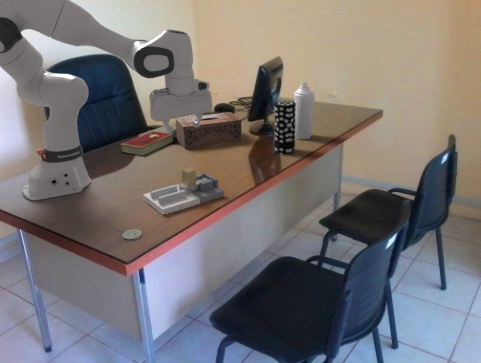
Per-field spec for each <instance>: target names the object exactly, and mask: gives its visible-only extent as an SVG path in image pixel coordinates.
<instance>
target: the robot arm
mask: <svg viewBox="0 0 481 363" xmlns="http://www.w3.org/2000/svg"><path fill="white" fill-rule="evenodd" d="M25 30H31V31H35V32H37V33H40V34H42V35H43V36H45V37H48V38H50V39H53V40H55V41H57V42H60V43H63V44H66V45H70V46H73V47H84V46H85V47H87V46H88V47H94V48H97V49H99V50H102V51H104V52H106V53H108V54H111V55H114V56H115V57H117V58H120V59H121V60H123V61H124V62H125V63H126V64H127V65H128V67H129V68H130V69H132V70H133V72H135V73H137V74H138V75H139V76H140V77H142V78H145V79H154V78H159V77H163V76H164V85H165V87H163V88H160V89H154V90H152V91H151V92H150V93H149V96H148V97H149V103H150V106H149V109H150V110H149V112H150V113H149V114H150V119H152V120H153V121H154V122H162V124H163V125H164V127H165V128H166V133H170V134H174V127H173V126H170V124H169V123H170V120H173V119H174V120H175V119H177V118H185V117H190V116H193V115H194V116H197V117H196V119H195V121H193V127H195V128H197V127H200V120H201V118H202V115H203V113H208V112H211V111H212V109H213V100H212V99H213V98H212V94H211V91H210V83H209V82H207V81H204V80H201V79H197V78H195V73H194V69H193V65H194V55H193V54H194V53H193V46H192V41H191V37H190V35H189V34H188V33H187V32H185V31H182V30H181V31H180V30H175V29H164V30H163V31H162V32H161V34H159V35H158V36H156V37H155V38H153V39H151V40H147V39H135V38H134V39H133V38H129V37H126V36H124V35H122V34H120V33H118V32H116V31H114V30H111V29H109V28H108V27H106V26H104V25H102V24H101V23H100V22H99V21H97V20H96V18H94V16H93V15H92V14H91V13H90V12H88V11H87V10H86V9H84V7H82V6H80V5H79V4H77V3H76V2H74V1H71V0H0V68H1V69H2V70H3V71H5V72H6V73H7V74H8V75H9V76H10V78H12V79H13V80H14V81H15V83H16V91H17V92H16V93H17V95H18V98H20V100H22V101H23V102H25V103H28V104H31V105H33V106H36V107H46V108H49V115H48V119H47V120H46V121H45V122H44V123H42V126H41V131H42V136H43V140H44V141H43V142H44V147H45V148H44V149H41V148H38V149H37V150H36V154H37V155H38V156H40V159H41V160H40V162H39V163H37V165H35V166H34V167H33V168H32V170H30V171H29V173H28V176H27V184H26V185H24V186H23V187H22V194H23V196H24V197H25V199H27V200H31V201H41V200H46V199H50V198H57V197H62V196H67V195H72V194H77V193H80V192H81V191H83V190H84V189H85V188H87V186H89V185H90V184H91V182H92V180H91V178H90V176H89V173H88V171H87V168H86V166H85V162H84V152H83V151H84V150H83V147H82V143H80V138H79V132H78V131H79V130H78V115H79V112H80V110H81V108H82V107H83V106H84V105H85V103H86V102H87V101H88V99H89V88H88V84H87V83H86V81H85V80H84V79H83V78H81V77H79V76H76V75H73V74H69V73H55V72H50V71H48V70H46V69H45V68H44V67H43V66H44V59H43V58H44V57H43V55H42V54H41V53H40V52H39V51H38V50H37V49H36V48H35V46H33V44H31V42H29V41H28V39H27V38H25V36H24V35H23V34H22V32H24V31H25Z"/></svg>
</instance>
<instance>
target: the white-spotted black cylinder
mask: <svg viewBox="0 0 481 363" xmlns="http://www.w3.org/2000/svg"><path fill="white" fill-rule="evenodd" d="M295 117H296V103H295V101H292V100H278V101H275V102H274V153H275V154H278V155H283V156H285V155H292V154H294V153H296V139H295Z"/></svg>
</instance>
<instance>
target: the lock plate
mask: <svg viewBox="0 0 481 363" xmlns="http://www.w3.org/2000/svg"><path fill="white" fill-rule="evenodd" d="M204 177H205V178H207V179H209V180H205V181H202V182H200V189H199V190H196V191H193V192H189V193H185V190H181V191H179V185H180V184H183V182H182V183H179V184H172V185H169V186H166V187H162V188H159V189H155V190H151V191H149V192H148V193H143V194H142V197H143V201H144V202H146V203H147V204H148V205H149V206H151V207H152V208H154V210H156V211H157V212H158V213H159V214H161V215H162V214H163V215H162V216H165V215H164V214H166V215H169V214H168V213H170V214H172V213H171V212H173V213H175V212H174V211H176V212H178V210H179V211H182V210H185V209H188V208H191V206H192V207H194V205H195V206H197V204H198V205H200V204H203V203H208V202H210V201H213V200H216V199H219V198H223V197H225V191H224V189H223V188H220V187H219V179H218V178H216V177H214V176H212V175H210V174H208V173H207V172H202V173H197V174H196V180H197V179H201V178H204ZM187 207H188V208H187ZM184 208H185V209H184ZM181 209H182V210H181Z"/></svg>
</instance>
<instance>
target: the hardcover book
mask: <svg viewBox="0 0 481 363" xmlns="http://www.w3.org/2000/svg"><path fill="white" fill-rule="evenodd" d="M173 136H174V133H167V132H162V131H157V130H152V131H150V132H147V133H144V134H143V135H140V136H137V137H135V138H132V139H130V140H127V141H124V142H122V143H120V146H119V147H120V152H121V153H123V152H124V153H128V154H133V155H138V156H144V155H147V154H149V153H151V152H153V151H156V150H158V149H160V148H163V147H164V146H167V145H169V144H171V143H173V142H174V139H173Z"/></svg>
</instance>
